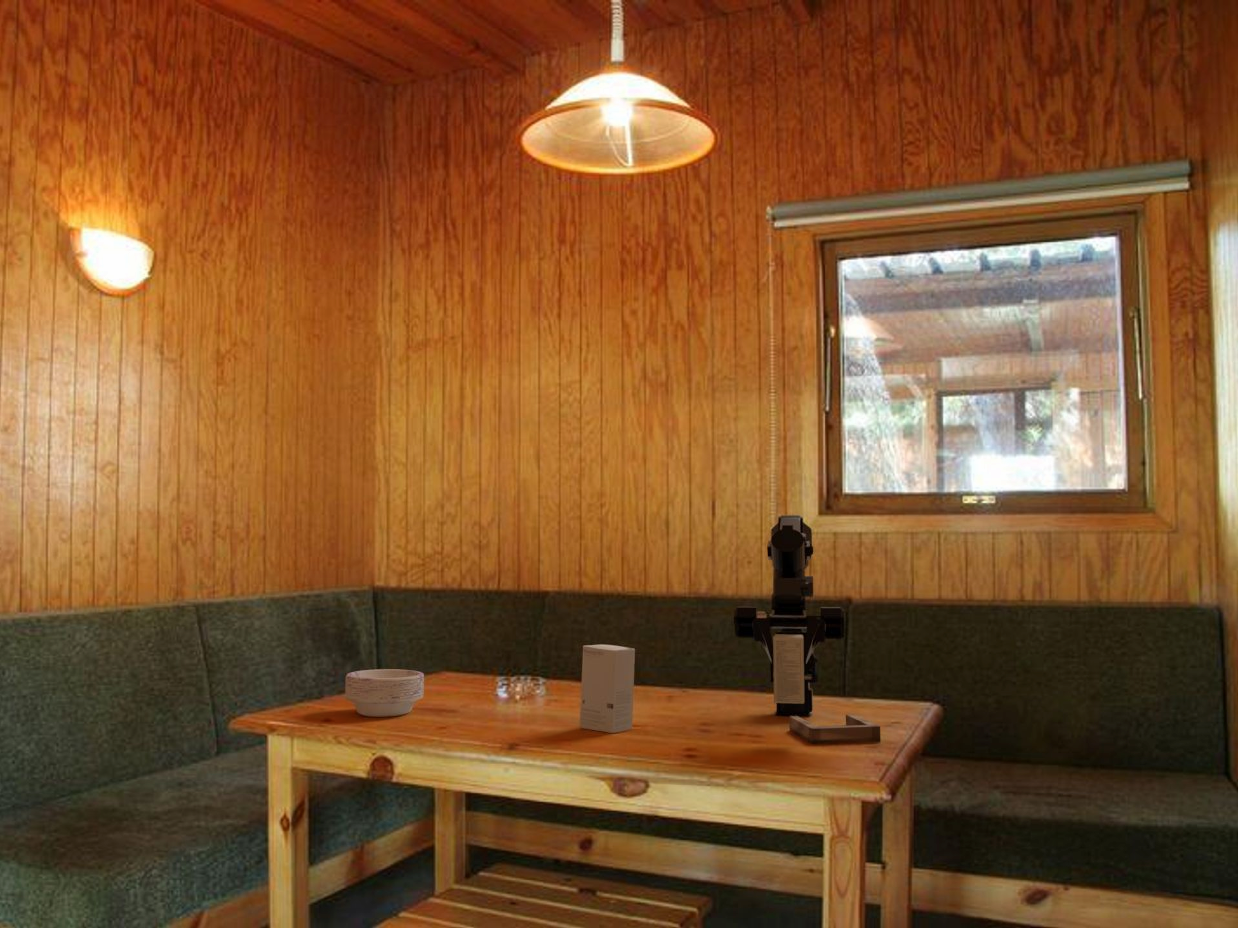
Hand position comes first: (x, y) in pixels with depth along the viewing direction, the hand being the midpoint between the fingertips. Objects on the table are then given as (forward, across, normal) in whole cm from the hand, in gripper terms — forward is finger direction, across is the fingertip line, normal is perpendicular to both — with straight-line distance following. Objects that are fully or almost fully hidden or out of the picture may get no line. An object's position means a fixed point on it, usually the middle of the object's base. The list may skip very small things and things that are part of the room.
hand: (788, 662), depth 174 cm
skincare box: (+4, -33, +16) cm, 37 cm away
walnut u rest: (+4, +7, +16) cm, 18 cm away
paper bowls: (-3, -79, +23) cm, 83 cm away
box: (+4, 0, +6) cm, 7 cm away
